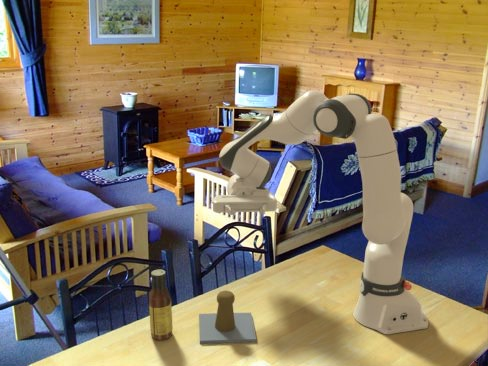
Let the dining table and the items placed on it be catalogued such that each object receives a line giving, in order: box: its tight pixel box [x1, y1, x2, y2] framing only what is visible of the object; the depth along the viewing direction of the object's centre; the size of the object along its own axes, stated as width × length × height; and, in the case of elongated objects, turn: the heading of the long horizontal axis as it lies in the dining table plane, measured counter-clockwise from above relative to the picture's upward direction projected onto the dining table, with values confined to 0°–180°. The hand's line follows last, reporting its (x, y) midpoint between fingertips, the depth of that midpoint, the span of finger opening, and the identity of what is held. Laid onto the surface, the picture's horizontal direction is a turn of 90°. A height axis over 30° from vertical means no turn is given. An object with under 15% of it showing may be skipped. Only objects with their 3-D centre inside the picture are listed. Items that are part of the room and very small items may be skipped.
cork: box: [215, 290, 236, 332], centre depth 155 cm, size 6×6×11 cm
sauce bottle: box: [148, 269, 173, 341], centre depth 150 cm, size 7×6×20 cm
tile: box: [198, 312, 257, 345], centre depth 157 cm, size 16×14×1 cm
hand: (247, 212), depth 162 cm, fingers open, 8 cm apart
